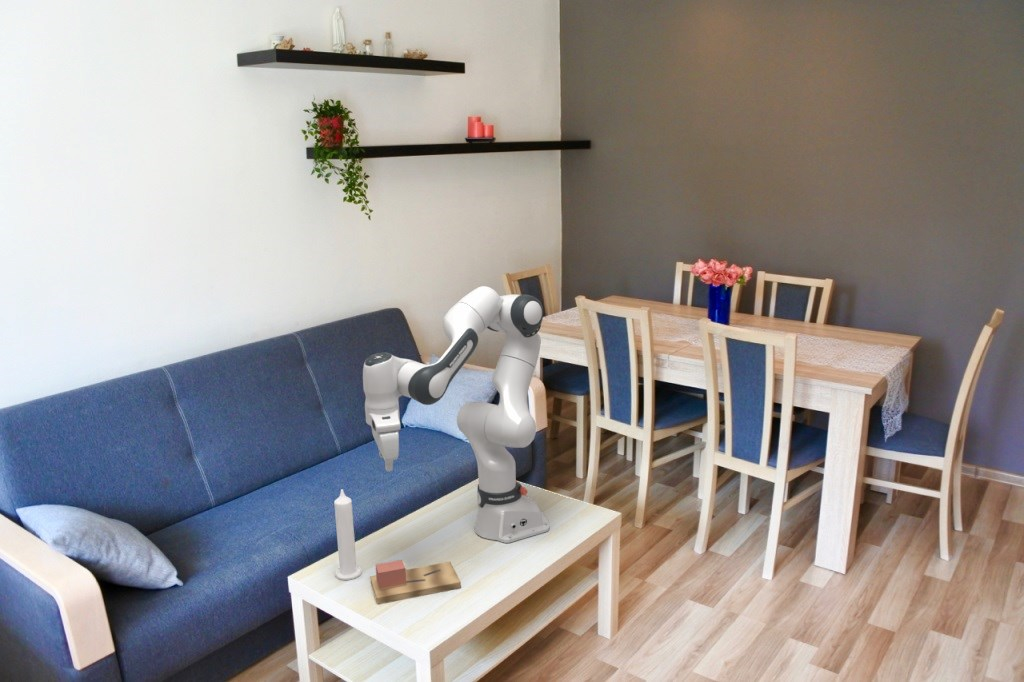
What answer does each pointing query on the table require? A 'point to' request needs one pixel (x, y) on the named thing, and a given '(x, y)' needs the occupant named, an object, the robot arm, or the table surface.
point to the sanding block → (390, 574)
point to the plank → (419, 583)
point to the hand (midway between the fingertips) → (386, 463)
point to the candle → (345, 539)
